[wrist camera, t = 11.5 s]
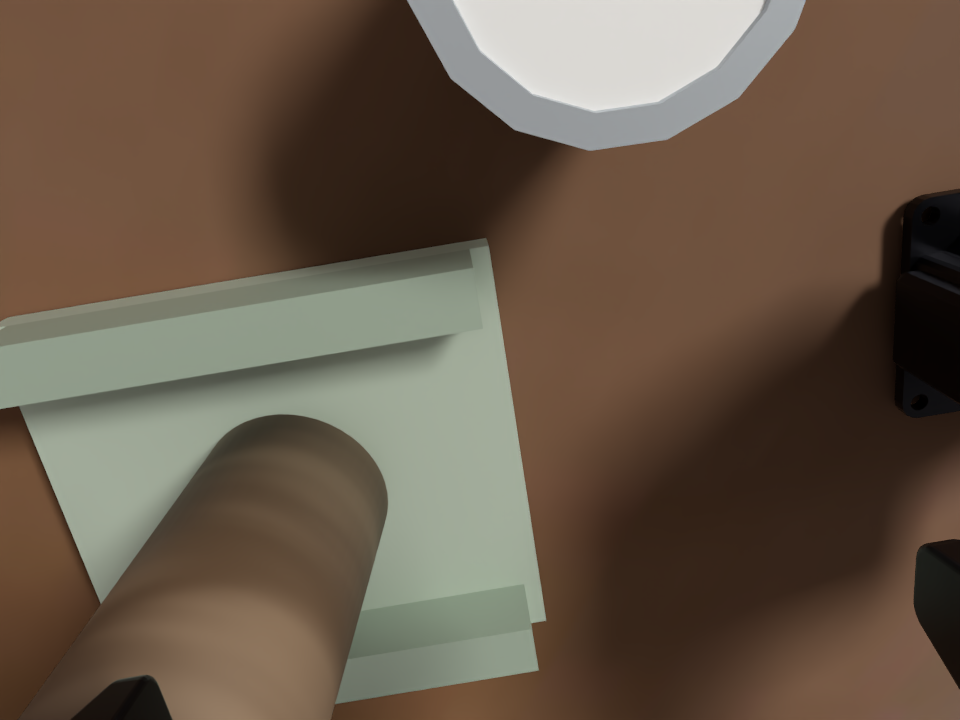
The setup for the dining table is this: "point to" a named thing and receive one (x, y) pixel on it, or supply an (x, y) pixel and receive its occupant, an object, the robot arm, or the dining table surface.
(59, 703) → the pepper mill
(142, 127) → the dining table surface
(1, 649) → the dining table surface
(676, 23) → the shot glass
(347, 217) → the dining table surface
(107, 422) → the tray
